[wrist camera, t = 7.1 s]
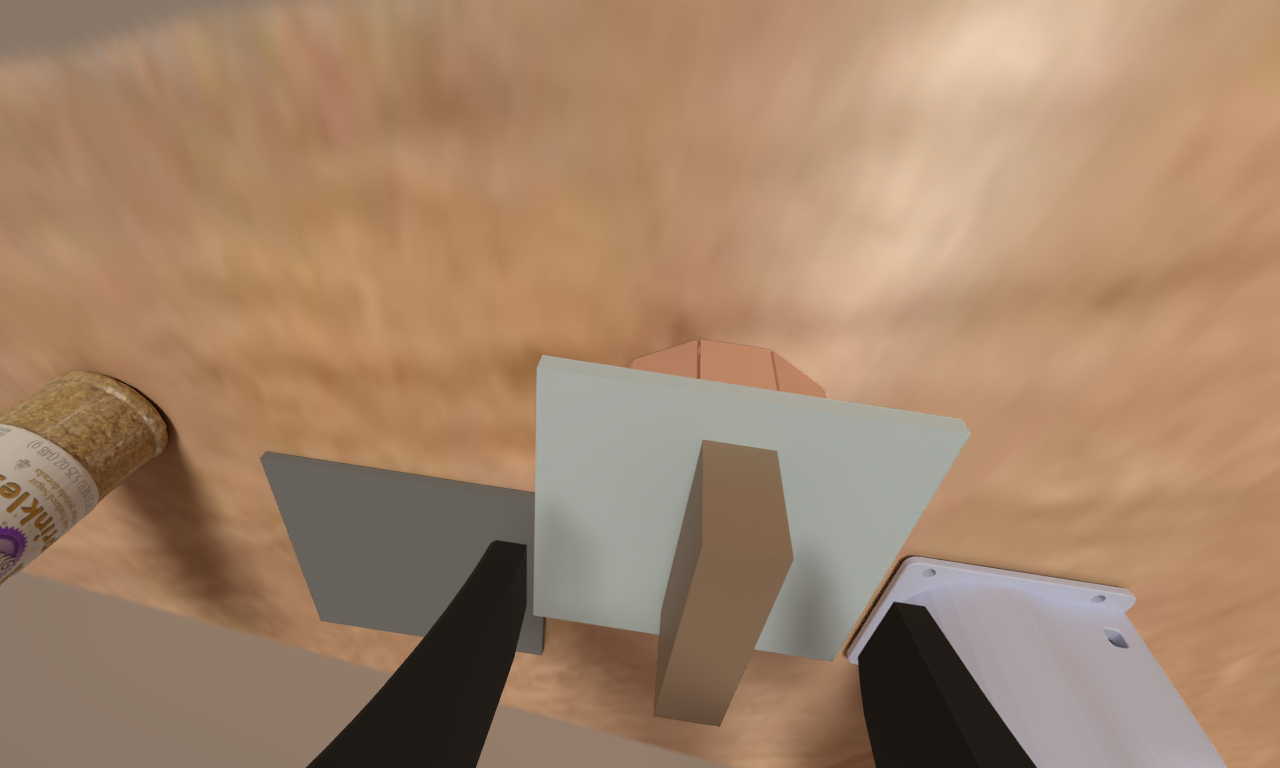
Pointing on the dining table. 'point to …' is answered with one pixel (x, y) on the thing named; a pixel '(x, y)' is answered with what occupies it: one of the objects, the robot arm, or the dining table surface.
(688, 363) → the bowl
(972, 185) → the dining table surface
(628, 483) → the lid
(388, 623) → the mat
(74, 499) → the sprinkles bottle
